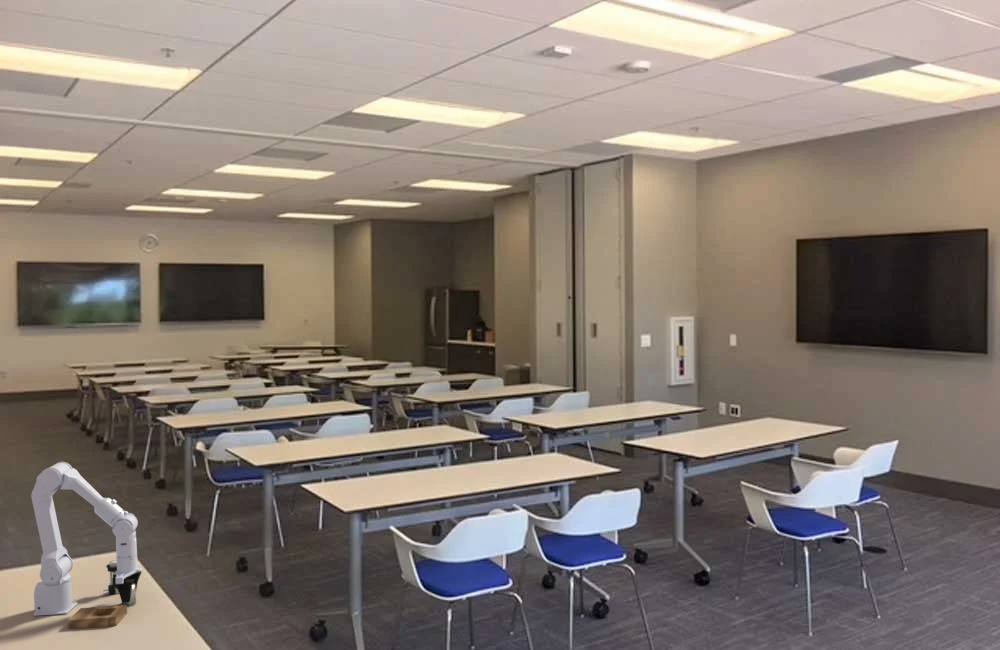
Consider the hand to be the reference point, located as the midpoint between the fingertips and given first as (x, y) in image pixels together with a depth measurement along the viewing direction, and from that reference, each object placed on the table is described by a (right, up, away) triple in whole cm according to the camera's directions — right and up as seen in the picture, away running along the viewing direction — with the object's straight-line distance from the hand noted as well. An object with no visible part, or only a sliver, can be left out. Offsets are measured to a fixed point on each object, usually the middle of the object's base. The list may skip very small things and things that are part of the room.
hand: (128, 599), depth 247 cm
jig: (-4, -2, -12) cm, 13 cm away
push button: (-9, -2, +10) cm, 14 cm away
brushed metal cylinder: (0, -2, 0) cm, 2 cm away
